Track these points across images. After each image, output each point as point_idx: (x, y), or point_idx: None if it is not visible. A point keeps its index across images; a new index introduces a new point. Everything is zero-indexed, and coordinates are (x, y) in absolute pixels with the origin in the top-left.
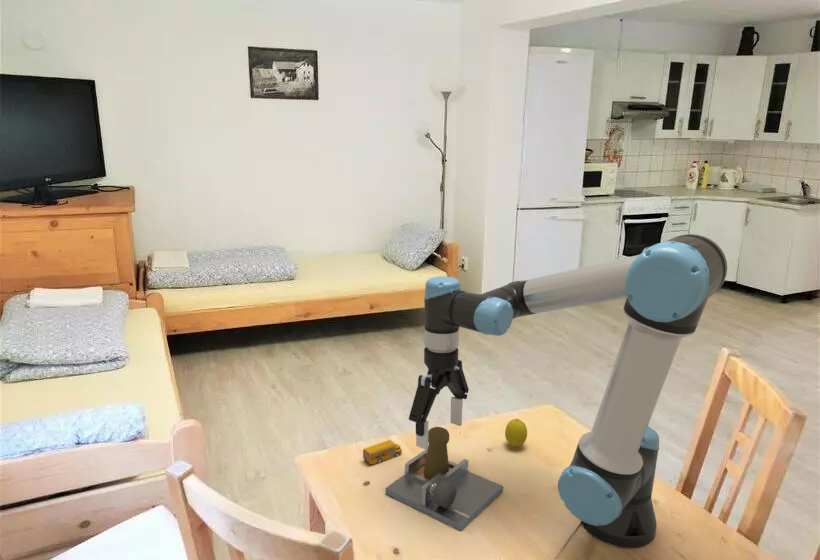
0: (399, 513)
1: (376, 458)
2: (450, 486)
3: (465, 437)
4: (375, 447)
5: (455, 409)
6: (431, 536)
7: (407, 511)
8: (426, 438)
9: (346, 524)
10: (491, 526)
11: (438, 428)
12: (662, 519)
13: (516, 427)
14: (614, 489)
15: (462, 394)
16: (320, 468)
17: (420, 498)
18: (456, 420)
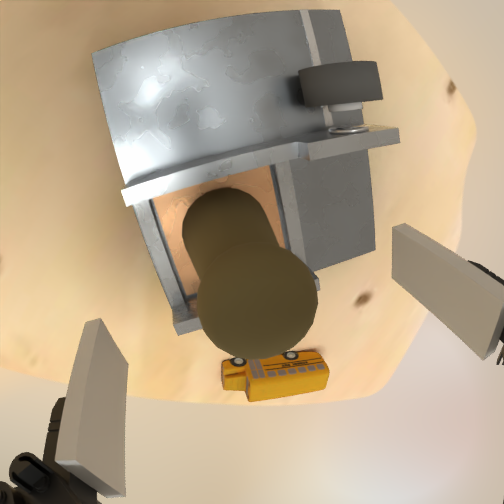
0: (391, 164)
1: (303, 360)
2: (356, 61)
3: (27, 340)
4: (302, 386)
5: (107, 414)
6: (390, 56)
7: (375, 157)
8: (442, 247)
9: (459, 206)
10: None
11: (258, 335)
12: None
13: None
14: None
15: (49, 498)
16: (378, 370)
17: (347, 159)
18: (108, 355)
